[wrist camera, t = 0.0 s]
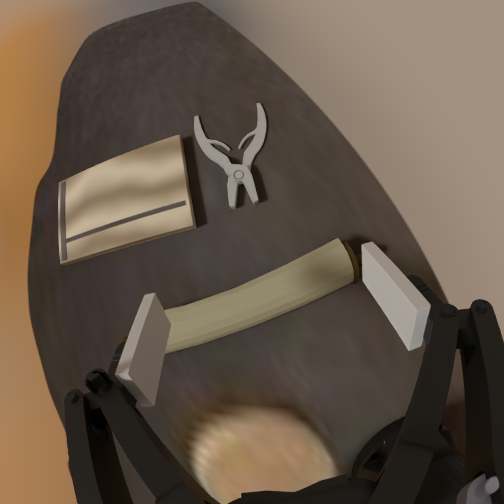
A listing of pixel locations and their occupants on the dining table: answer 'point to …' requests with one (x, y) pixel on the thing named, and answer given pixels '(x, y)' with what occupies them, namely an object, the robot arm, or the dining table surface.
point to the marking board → (125, 202)
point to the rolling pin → (263, 296)
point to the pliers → (236, 171)
